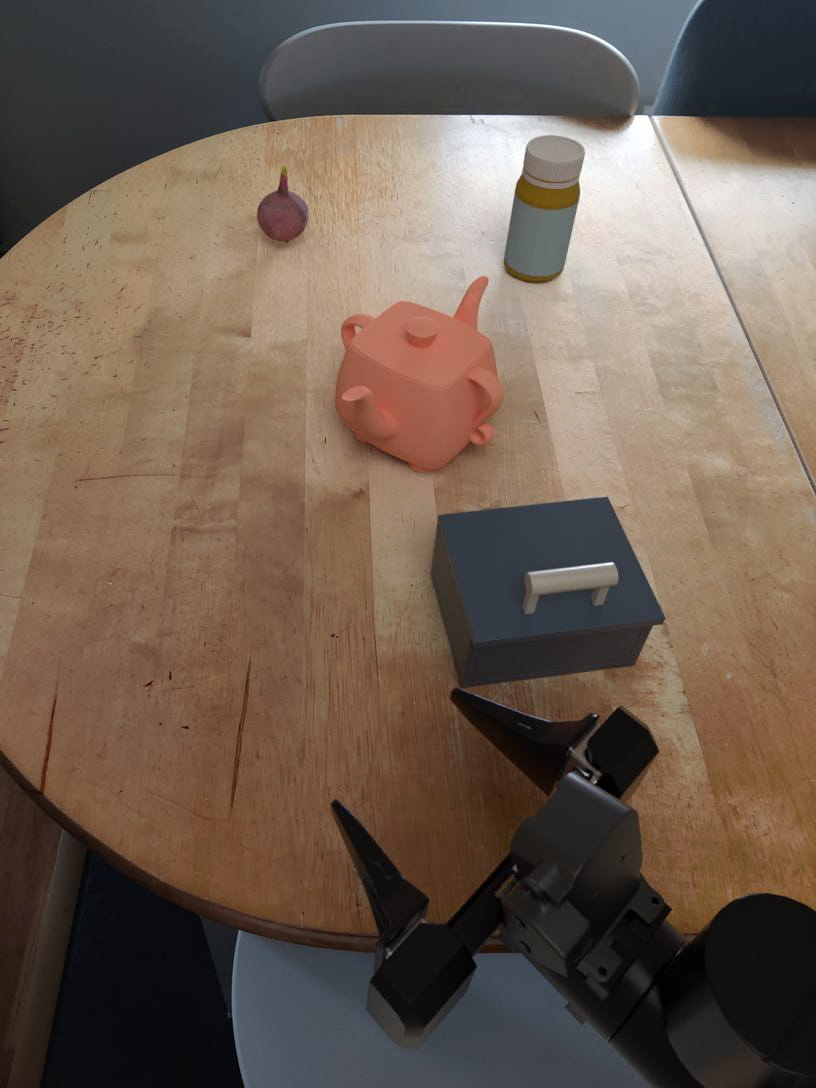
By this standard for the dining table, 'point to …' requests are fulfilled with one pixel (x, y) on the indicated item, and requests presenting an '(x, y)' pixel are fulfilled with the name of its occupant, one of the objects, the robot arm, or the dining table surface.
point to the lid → (546, 572)
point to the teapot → (419, 381)
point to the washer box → (529, 655)
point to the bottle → (544, 208)
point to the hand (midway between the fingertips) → (395, 745)
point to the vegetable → (282, 212)
